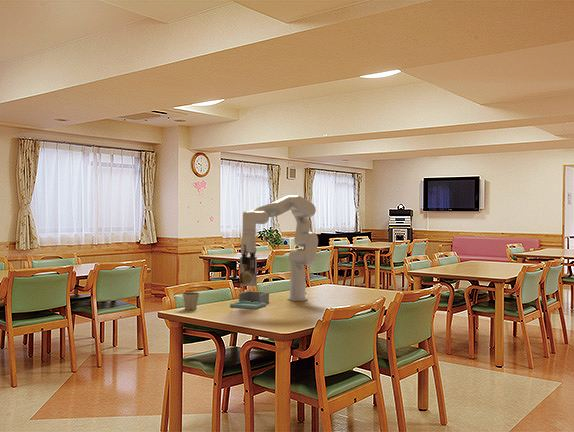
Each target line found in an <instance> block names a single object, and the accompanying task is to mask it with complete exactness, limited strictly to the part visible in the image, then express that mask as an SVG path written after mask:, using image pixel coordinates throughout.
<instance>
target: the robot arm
mask: <svg viewBox="0 0 574 432" xmlns="http://www.w3.org/2000/svg"><path fill="white" fill-rule="evenodd" d="M289 211H291V214H292V215H293V217H294V219H295V221H296V227H295V233H294V240H293V242H294V245H295V246H296V247H300V248H293V249H292V250H291V251H289V254H288V263H289V270H290V271H289V273H290V274H289V278H290V279H289V296H288V297H286V298H287V299H286V300H288V301H292V302H293V301H294V302H295V301H296V302H303V301H308V299H309V298H308V297H307V296H306V295H307V292H306V268H305V266H311V265H313V264H314V262H315V260H316V258H317V257H316V256H317V252H318V247H319V246H318V245H319V237H318V235H317V234H316V233H315V232H312V231H310V229H311V223H310V219H309V218H310V217H314V215H315V214H316V206H315V204H313V203H312V202H311V201H309V200H308V199H306V198H305V197H303V196H300V195H287V196H283V197H282V198H279V199H277V200H276V201H273V202H271V203H267V204H265V205H261V206H258V207H256V208H254V209H252V210H249V211H247V210H245V211H243V213H242V236H241V241H240V253H241V257H242V264H248V257H256V253H257V243H256V241H257V240H256V232H257V230H256V229H257V227H256V226H257V225H264V224H267V223H269V222H270V221H269V220H270V218H274V217H279V216H281V215H283V214H285V213H287V212H289ZM248 255H249V256H248Z"/></svg>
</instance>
